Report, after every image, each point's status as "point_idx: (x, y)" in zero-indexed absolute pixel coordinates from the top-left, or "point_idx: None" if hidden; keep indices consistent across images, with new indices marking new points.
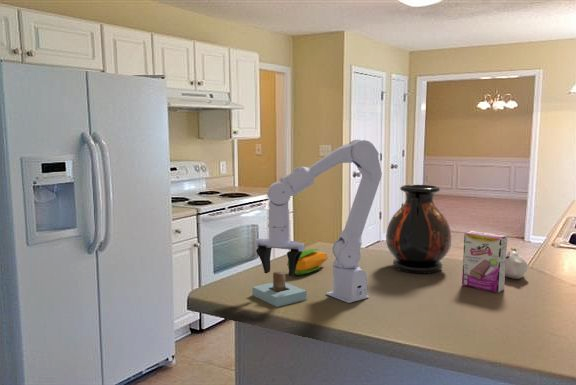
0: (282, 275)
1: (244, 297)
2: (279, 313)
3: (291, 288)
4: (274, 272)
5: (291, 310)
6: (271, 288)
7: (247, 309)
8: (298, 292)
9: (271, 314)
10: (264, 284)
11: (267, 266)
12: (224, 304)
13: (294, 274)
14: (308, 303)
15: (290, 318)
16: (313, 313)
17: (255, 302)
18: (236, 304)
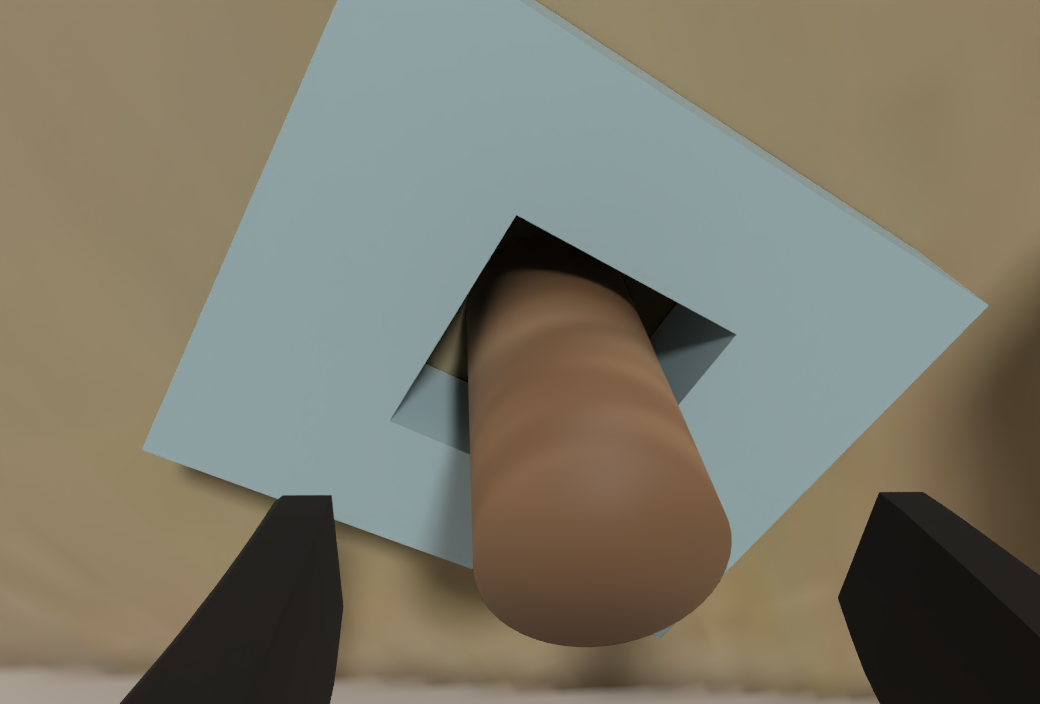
0: (693, 593)
1: (151, 465)
2: (709, 650)
3: (740, 294)
4: (486, 560)
5: (798, 568)
6: (422, 358)
7: (405, 680)
8: (877, 406)
9: (651, 684)
10: (230, 283)
11: (310, 696)
12: (131, 673)
13: (931, 503)
14: (950, 353)
15: (824, 687)
16: (1011, 553)
17: (369, 537)
18: None
